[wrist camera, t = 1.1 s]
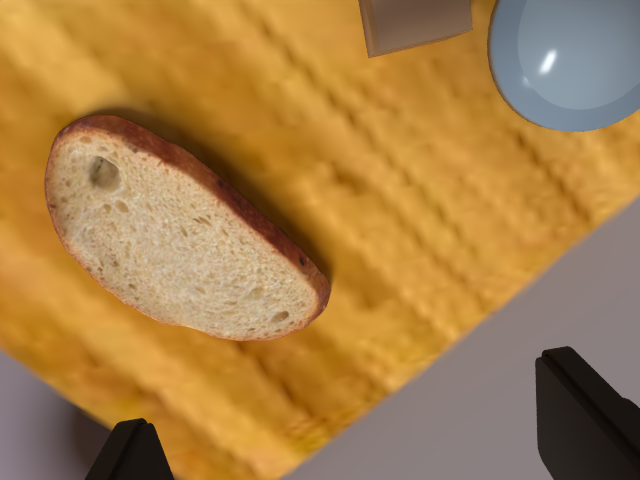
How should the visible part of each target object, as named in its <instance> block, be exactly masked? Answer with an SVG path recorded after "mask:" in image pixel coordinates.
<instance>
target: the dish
mask: <svg viewBox="0 0 640 480" xmlns="http://www.w3.org/2000/svg"><path fill="white" fill-rule="evenodd" d="M487 51H488V61H489V67H490V71H491V74H492V78H493V81H494V83H495V85H496V87H497V89H498V91H499V93H500V95H501V96H502V98H503V99H504V101H505V102H506V103H507V104H508V105H509V106H510V108H511V109H512V110H513V111H515V112H516V113H517V114H518V115H519V116H521V117H522V118H524V119H525V120H527V121H529V122H531V123H533V124H535V125H538V126H540V127H544V128H548V129H553V130H559V131H568V132H584V131H590V130H596V129H600V128H603V127H606V126H609V125H612V124H614V123H616V122H619V121H621V120H622V119H624V118H626V117H628V116H629V115H631V114H633V113H634V112H635V111H637V110H638V109H640V0H496V2H495V5H494V8H493V11H492V14H491V19H490V24H489V28H488V39H487Z"/></svg>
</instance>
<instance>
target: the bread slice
mask: <svg viewBox="0 0 640 480" xmlns="http://www.w3.org/2000/svg"><path fill="white" fill-rule="evenodd" d="M45 197H46V204H47V207H48V210H49V213H50V216H51V219H52V222H53V225H54V228H55V231H56V233H57V234H58V236H59V238H60V241H61V243H62V244H63V246H64V247H65V249H66V250H67V251H68V253H69V254H70V255H71V256H72V257H73V258H74V259H75V260H76V261H77V262H78V263H79V264H80V265H81V266H82V267H83V268H84V269H85V270H86V272H87V273H88V274H89V275H90V276H91V277H92V278H93V279H95V280H96V281H97V282H98V283H99V284H100V285H101V286H102V287H103V288H104V289H106V290H107V291H110V292H111V293H112V294H113V295H115V296H116V297H117V298H118V299H119V300H120V301H121V302H123V303H125V304H126V305H128V306H131V307H133V308H134V309H136V310H137V311H139V312H140V313H142V314H144V315H146V316H148V317H151V318H153V319H154V320H156V321H158V322H161V323H164V324H167V325H179V326H188V327H190V328H193V329H196V330H200V331H202V332H205V333H207V334H209V335H211V336H213V337H218V338H222V339H230V340H237V341H248V340H274V339H277V338H280V337H283V336H286V335H288V334H291V333H294V332H296V331H298V330H300V329H303V328H305V327H307V326H308V325H309V324H310V323H311V322H313V321H314V320H315V319H316V318H317V317H318V316H319V315H320V314H321V313H322V312H323V311H324V309H325V308H326V306H327V303H328V300H329V296H330V291H331V289H330V284H329V282H328V280H327V279H326V277H325V275H324V274H323V273H321V272H320V271H319V270H318V268H317V267H316V265H315V264H314V263H313V262H312V261H311V260H310V259H309V257H308V256H307V255H306V254H305V253H304V251H303V250H302V249H301V248H300V246H298V245H297V244H296V243H294V242H293V241H292V240H291V239H290V238H289V237H288V236H287V235H286V234H285V233H284V232H283V231H282V230H281V229H279V228H278V227H276V226H275V225H274V224H273V223H271V222H270V221H269V220H268V219H267V218H266V217H265V216H264V215H263V214H261V213H260V212H259V211H258V210H257V209H256V208H255V207H254V206H252V205H251V204H250V203H249V202H248V201H247V200H246V199H245V198H244V197H243V196H241V195H240V194H239V193H238V192H237V191H236V190H235V189H234V188H233V187H231V186H230V185H229V184H228V183H227V182H226V181H224V180H223V179H222V178H221V177H220V176H218V175H217V174H216V173H215V172H213V171H212V170H211V169H210V168H208V167H207V166H206V165H204V164H203V163H201V162H200V161H199V160H198V159H196V158H195V157H194V156H193V155H192V154H190V153H189V152H188V151H186V150H185V149H183V148H182V147H180V146H178V145H176V144H174V143H171V142H168V141H166V140H164V139H162V138H160V137H159V136H157V135H155V134H154V133H152V132H150V131H149V130H147V129H145V128H143V127H141V126H139V125H137V124H135V123H133V122H131V121H129V120H127V119H124V118H121V117H118V116H114V115H97V116H90V117H86V118H82V119H80V120H77V121H75V122H73V123H71V124H70V125H68V126H67V127H65V128H64V129H63V130H61V131H60V132H59V133H58V134H57V136H56V138H55V140H54V142H53V144H52V148H51V151H50V155H49V159H48V163H47V167H46V173H45Z"/></svg>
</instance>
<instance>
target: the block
mask: <svg viewBox="0 0 640 480" xmlns="http://www.w3.org/2000/svg"><path fill="white" fill-rule="evenodd" d="M358 1H359V6H360V12H361V18H362V24H363V29H364V35H365V41H366V46H367V52H368V58H372V57H376V56H380V55H384V54H389V53H393V52H397V51H401V50H405V49H410V48H414V47H418V46H422V45H427V44H431V43H435V42H439V41H443V40H447V39H449V38H452V37H455V36H457V35H460V34H462V33H465V32H468V31H470V30H473V28H472V18H471V9H470V0H358Z"/></svg>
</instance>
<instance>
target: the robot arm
mask: <svg viewBox="0 0 640 480" xmlns="http://www.w3.org/2000/svg"><path fill="white" fill-rule="evenodd" d="M535 367H536V404H537V438H538V439H537V441H538V450H539V454H540V457H541V459H542V461H543V463H544V465H545V466H546V468H547V470H548V471H549V472H550V474H551V476H552V477H553V479H554V480H640V408H639V407H638V406H637V405H636V404H634V403H633V402H632V401H630V400H629V399H626V398H622V397H621V396H620V395H619V394H618V393H617V392H616V391H615V390H614V389H613V388H612V387H611V386H610V385H609V384H608V383H607V382H606V381H605V380H604V379H603V378H602V377H601V376H600V375H599V374H598V373H597V372H596V371H595V370H594V369H593V368H592V367H591V366H590V365H589V364H588V363H587V362H586V361H585V360H584V359H583V358H581V356H580V355H579V354H578V353H576V351H575V350H574V349H572V348H571V347H568V346H566V347H560V348H554V349H548V350H544V351H543V352H542V357H539V358H537V359H536V362H535ZM85 480H174V478H173V475H172V472H171V470H170V467H169V464H168V462H167V459H166V456H165V454H164V451H163V448H162V446H161V443H160V440H159V438H158V435H157V432H156V430H155V427H154V425H153V424H152V423H147V422H146V420H145V419H143V418H139V419H134V420H128V421H122V422H119V423H117V424H116V426H115V427H114V429H113V431H112V432H111V434H110V436H109V438H108V439H107V441H106V443H105V445H104V446H103V448H102V450H101V452H100V453H99V455H98V457H97V459H96V461H95V462H94V464H93V466H92V468H91V469H90V471H89V473H88V475H87V476H86V478H85Z"/></svg>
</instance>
